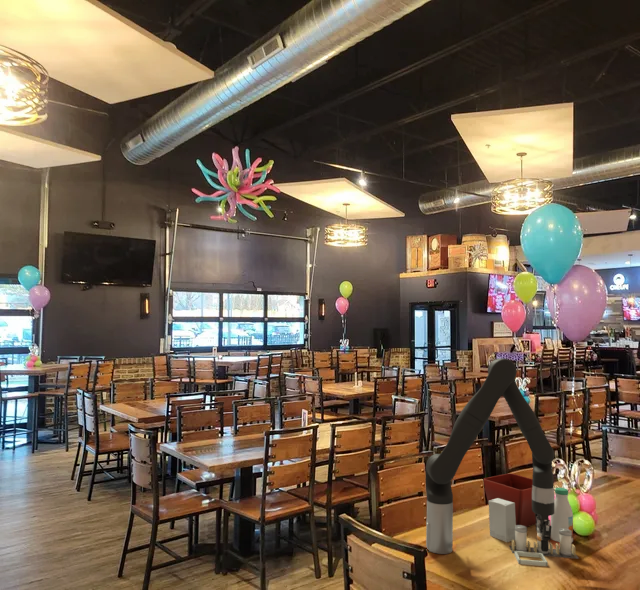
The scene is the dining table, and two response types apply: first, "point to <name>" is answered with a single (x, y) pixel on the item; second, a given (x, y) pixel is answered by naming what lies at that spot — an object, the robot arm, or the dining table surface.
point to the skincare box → (502, 519)
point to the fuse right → (565, 542)
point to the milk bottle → (561, 514)
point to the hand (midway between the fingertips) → (543, 548)
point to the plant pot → (513, 495)
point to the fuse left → (521, 538)
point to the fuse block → (551, 551)
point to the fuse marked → (540, 543)
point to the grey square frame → (530, 562)
